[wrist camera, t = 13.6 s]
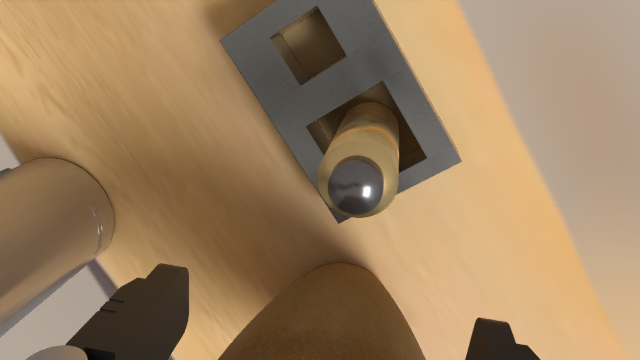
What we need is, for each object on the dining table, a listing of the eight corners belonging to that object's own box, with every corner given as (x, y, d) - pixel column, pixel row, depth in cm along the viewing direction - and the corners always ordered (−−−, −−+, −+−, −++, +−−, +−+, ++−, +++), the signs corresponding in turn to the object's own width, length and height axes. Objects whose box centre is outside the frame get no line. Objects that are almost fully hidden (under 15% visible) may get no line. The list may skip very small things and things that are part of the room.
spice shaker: (338, 104, 32) (308, 151, 22) (397, 99, 31) (395, 145, 21) (343, 160, 33) (318, 229, 23) (400, 156, 33) (400, 226, 22)
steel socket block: (235, 37, 32) (219, 40, 29) (349, -44, 29) (344, -49, 26) (343, 206, 35) (338, 223, 32) (456, 147, 32) (461, 161, 29)
